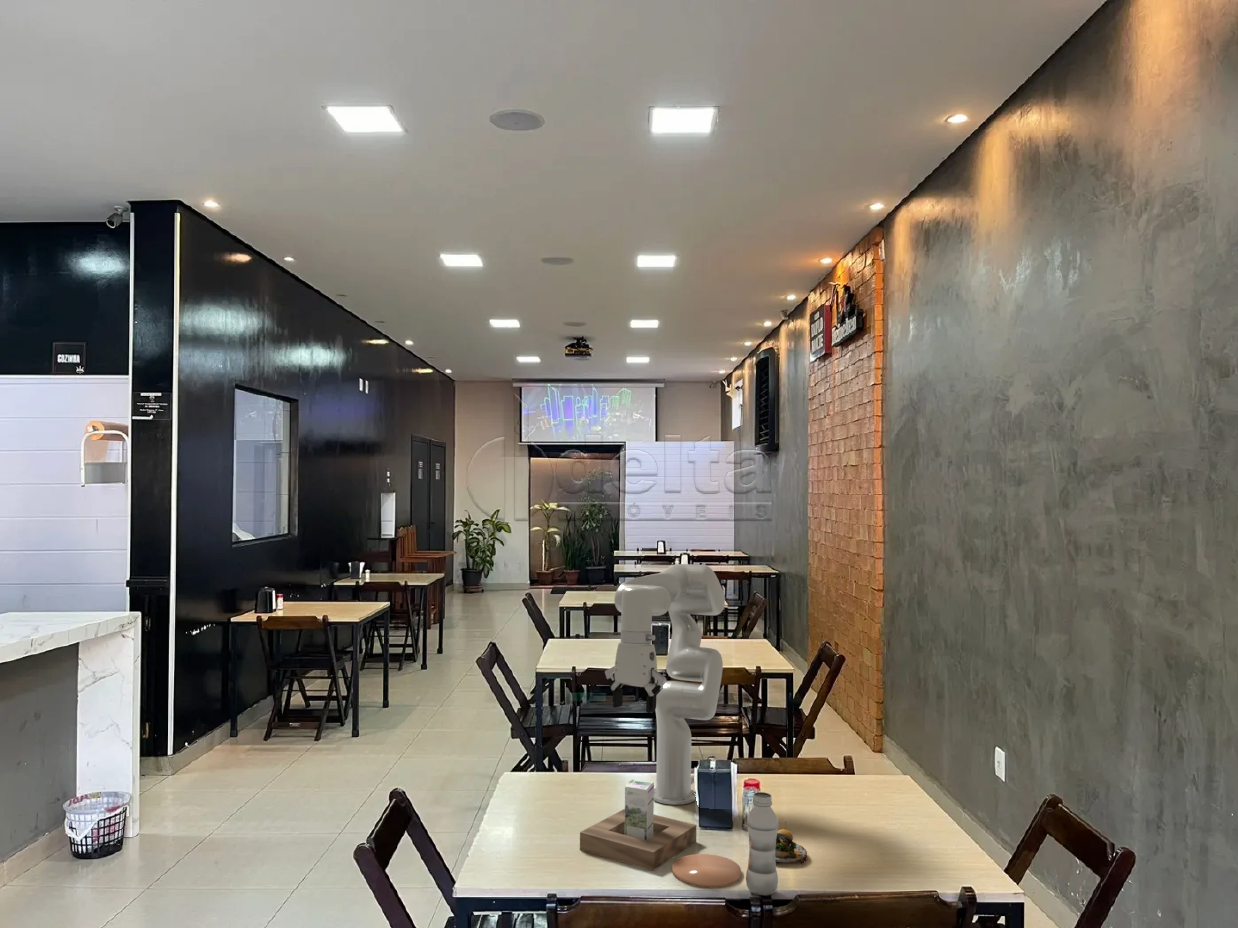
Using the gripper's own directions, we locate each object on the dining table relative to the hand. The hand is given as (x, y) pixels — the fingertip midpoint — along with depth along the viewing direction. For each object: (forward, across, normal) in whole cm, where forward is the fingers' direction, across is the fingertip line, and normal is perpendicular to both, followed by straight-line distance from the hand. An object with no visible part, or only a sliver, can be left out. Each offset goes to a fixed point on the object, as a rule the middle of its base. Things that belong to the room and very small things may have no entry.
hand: (634, 709), depth 208 cm
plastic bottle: (+32, -38, +7) cm, 50 cm away
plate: (+31, -24, +5) cm, 39 cm away
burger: (+31, -33, -13) cm, 47 cm away
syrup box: (+31, -3, +2) cm, 31 cm away
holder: (+31, -3, +2) cm, 31 cm away
